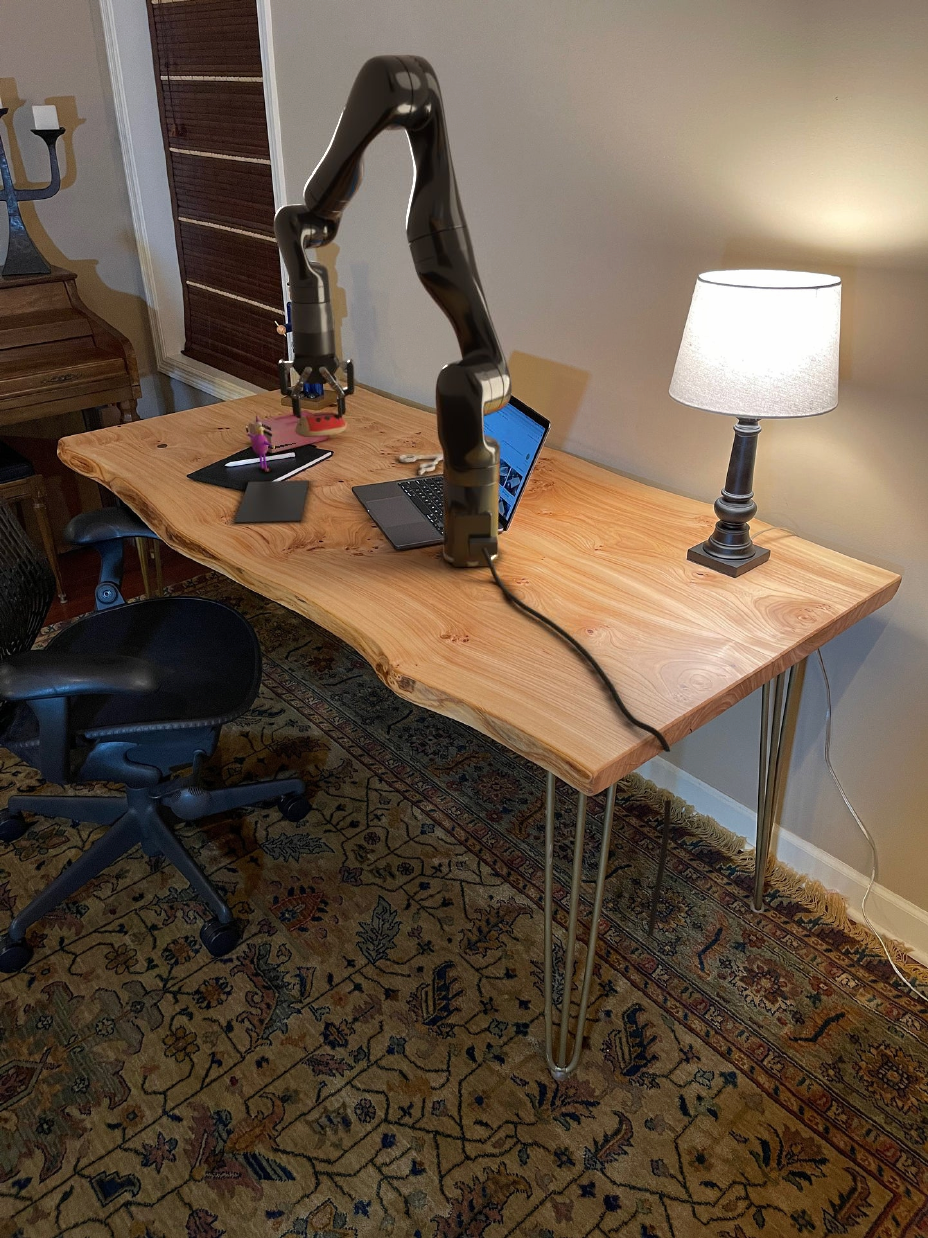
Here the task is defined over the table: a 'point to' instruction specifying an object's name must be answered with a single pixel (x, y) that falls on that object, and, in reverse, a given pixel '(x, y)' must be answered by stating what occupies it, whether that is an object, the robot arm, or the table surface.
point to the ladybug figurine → (320, 425)
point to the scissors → (414, 457)
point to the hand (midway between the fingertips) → (320, 416)
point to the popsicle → (284, 432)
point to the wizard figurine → (260, 441)
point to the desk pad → (272, 502)
